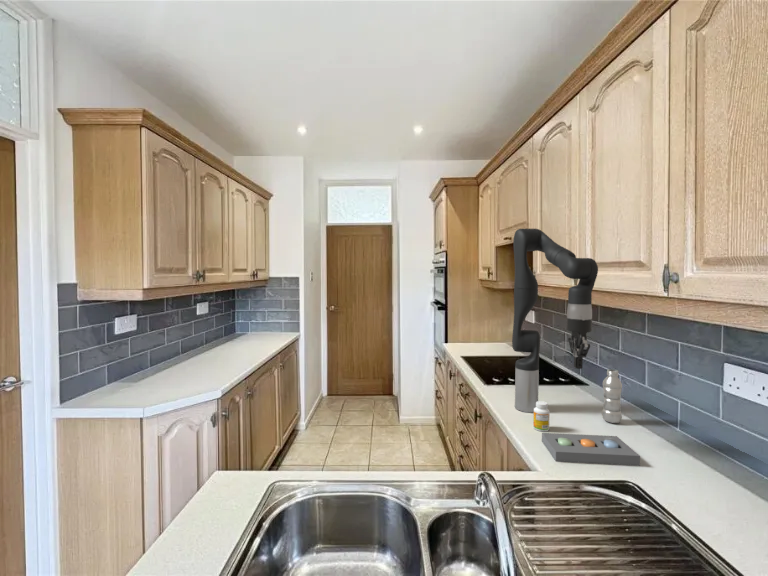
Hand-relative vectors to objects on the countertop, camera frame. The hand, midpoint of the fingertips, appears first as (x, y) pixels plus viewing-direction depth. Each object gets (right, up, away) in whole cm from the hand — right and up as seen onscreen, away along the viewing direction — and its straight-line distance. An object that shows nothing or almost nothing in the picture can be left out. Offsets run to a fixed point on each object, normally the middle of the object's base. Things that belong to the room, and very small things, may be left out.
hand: (578, 368), depth 131 cm
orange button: (-1, -24, -8) cm, 25 cm away
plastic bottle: (+22, -25, +18) cm, 37 cm away
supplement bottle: (-8, -25, +11) cm, 28 cm away
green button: (-8, -24, -7) cm, 26 cm away
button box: (-1, -25, -8) cm, 27 cm away
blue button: (+6, -24, -9) cm, 26 cm away
